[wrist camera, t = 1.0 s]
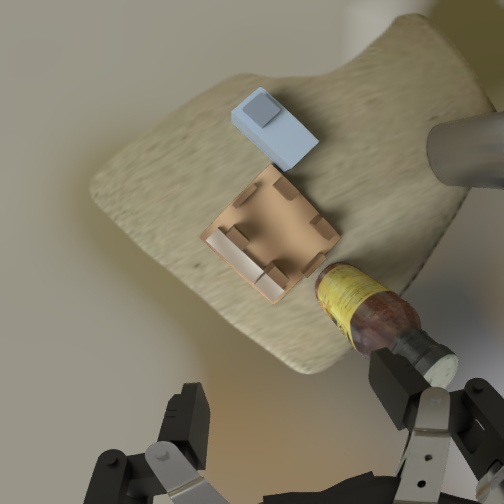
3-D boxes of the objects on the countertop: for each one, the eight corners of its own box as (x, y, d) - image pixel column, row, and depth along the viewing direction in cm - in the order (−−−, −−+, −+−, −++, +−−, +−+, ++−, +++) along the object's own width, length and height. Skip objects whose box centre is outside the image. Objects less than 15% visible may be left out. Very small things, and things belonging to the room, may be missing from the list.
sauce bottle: (305, 300, 32) (376, 415, 13) (325, 253, 31) (432, 331, 12) (348, 314, 33) (434, 414, 14) (368, 270, 32) (479, 345, 13)
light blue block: (256, 100, 27) (261, 82, 22) (307, 148, 29) (322, 139, 23) (231, 123, 28) (231, 108, 22) (283, 172, 29) (293, 167, 24)
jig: (269, 164, 29) (274, 160, 25) (338, 236, 31) (349, 241, 28) (200, 235, 30) (195, 241, 27) (272, 301, 32) (276, 314, 29)
